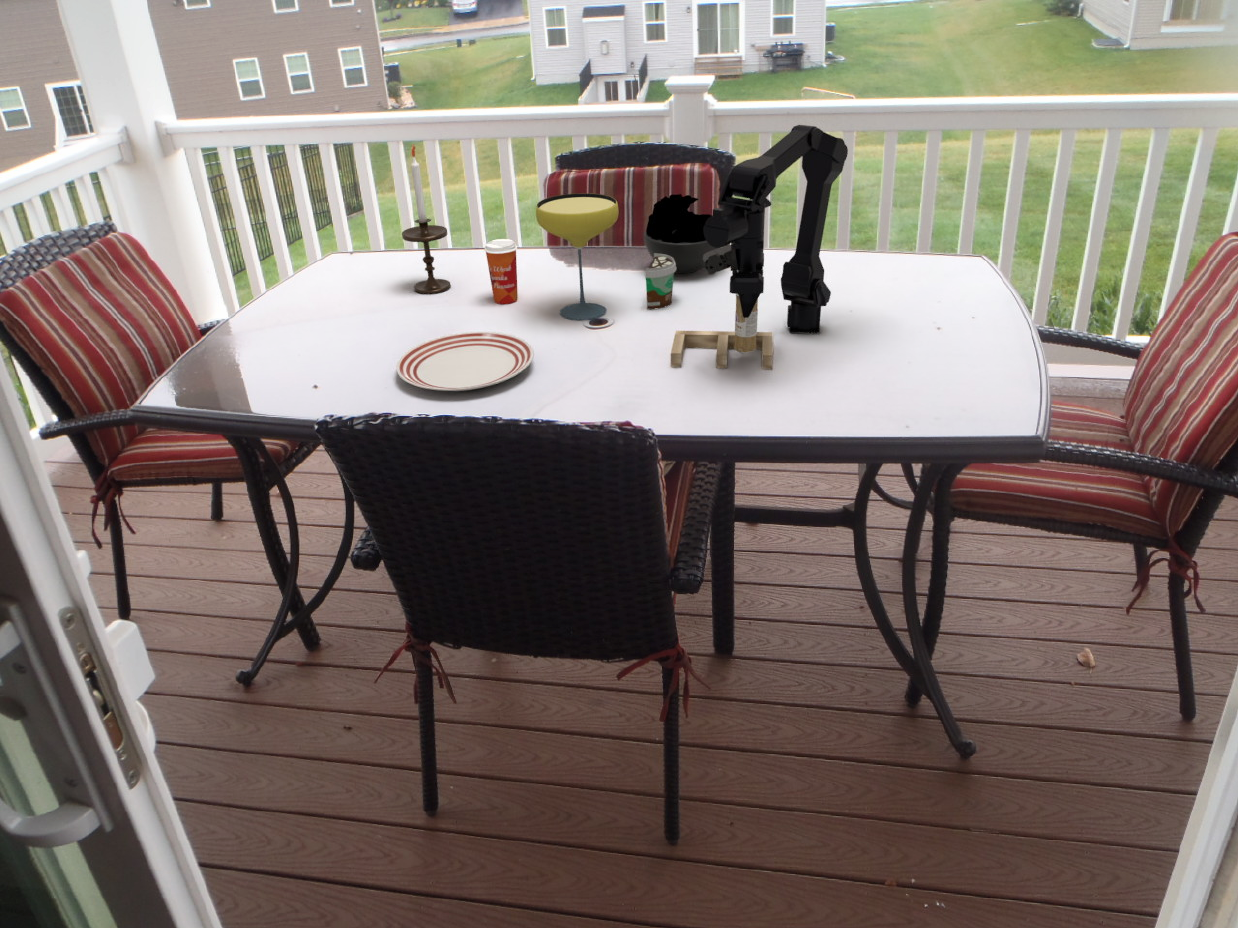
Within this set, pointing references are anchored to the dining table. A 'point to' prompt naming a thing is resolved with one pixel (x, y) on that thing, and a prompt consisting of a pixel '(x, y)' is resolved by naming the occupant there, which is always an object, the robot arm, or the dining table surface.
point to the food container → (660, 281)
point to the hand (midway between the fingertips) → (746, 313)
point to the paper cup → (502, 270)
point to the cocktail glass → (578, 234)
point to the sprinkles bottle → (745, 328)
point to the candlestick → (425, 237)
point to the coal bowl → (678, 233)
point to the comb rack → (718, 345)
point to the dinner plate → (465, 361)
